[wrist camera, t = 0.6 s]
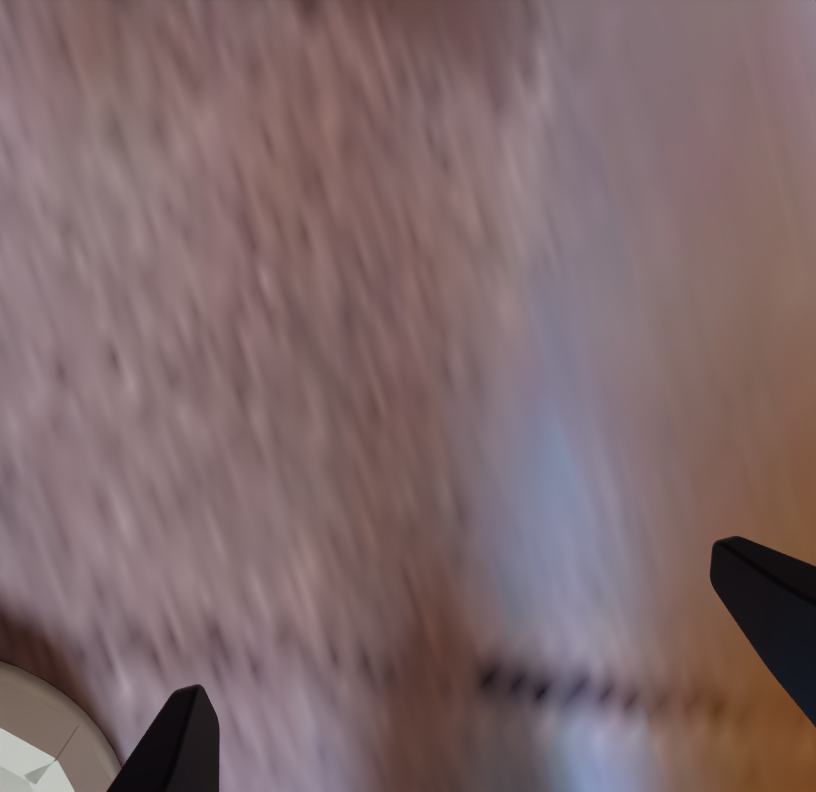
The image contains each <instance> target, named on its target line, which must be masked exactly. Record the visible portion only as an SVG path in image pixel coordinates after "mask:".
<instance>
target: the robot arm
mask: <svg viewBox="0 0 816 792" xmlns="http://www.w3.org/2000/svg"><path fill="white" fill-rule="evenodd" d="M710 580H711V583H712V586H713V588H714V590H715V591H716V593H717V594H718V596H719V597H720V599H721V600H722V602H723V603H724V605H725V606H726V608H727V609H728V611H729V612H730V614H731V615H732V617H733V618H734V620H735V621H736V623H737V624H738V625H739V627H740V628H741V630H742V631H743V633H744V634H745V636H746V637H747V639H748V640H749V642H750V643H751V645H752V646H753V648H754V649H755V651H756V652H757V654H758V655H759V657H760V658H761V659H762V661H763V662H764V663H765V665H766V666H767V668H768V669H769V670H770V672H771V673H772V674H773V675H774V677H775V678H776V679H777V680H778V682H779V683H780V684H781V685H782V687H783V688H784V689H785V690H786V692H787V693H788V694H789V695H790V696H791V698H792V699H793V700H794V701H795V703H796V704H797V705H798V706H799V707H800V709H801V710H802V711H803V712H804V714H805V715H806V716H807V717H808V718H809V720H810V721H811V722H812V723H813V725H814V726H815V727H816V566H814V565H811V564H809V563H806V562H804V561H801V560H798V559H796V558H793V557H791V556H788V555H786V554H783V553H781V552H778V551H776V550H773V549H771V548H768V547H766V546H763V545H760V544H758V543H755V542H753V541H750V540H748V539H745V538H743V537H739V536H732V537H728V538H724V539H721V540H717V541H716V542H715V543H714V544H713V546H712V555H711V566H710ZM219 742H220V730H219V722H218V717H217V715H216V712H215V710H214V708H213V706H212V704H211V702H210V700H209V698H208V696H207V693H206V691H205V689H204V688H203V686H201V685H199V684H196V685H192V686H188V687H185V688H181V689H178V690H176V691H174V692H173V693H172V694H171V696H170V697H169V699H168V700H167V702H166V703H165V705H164V706H163V708H162V709H161V711H160V712H159V713H158V715H157V716H156V718H155V719H154V721H153V722H152V724H151V725H150V727H149V728H148V730H147V731H146V733H145V734H144V736H143V737H142V739H141V740H140V742H139V743H138V745H137V746H136V748H135V749H134V751H133V752H132V754H131V755H130V757H129V758H128V760H127V761H126V763H125V764H124V766H123V767H122V769H121V770H120V772H119V773H118V775H117V776H116V778H115V779H114V781H113V782H112V784H111V785H110V786H109V788H108V789H107V791H106V792H219Z"/></svg>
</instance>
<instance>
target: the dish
mask: <svg viewBox="0 0 816 792" xmlns="http://www.w3.org/2000/svg"><path fill="white" fill-rule="evenodd" d="M121 769H122V768H121V766H120V764H119V761H118V759H117V757H116V755H115V752H114V750H113V749H112V747H111V746H110V744H109V742H108V741H107V739H106V738H105V736H104V735H103V733H102V731H101V730H100V729H99V728H98V727H97V725H96V724H95V723H94V722H93V721H92V720H91V718H90V717H89V716H88V715H87V714H86V713H85V711H83V710H82V709H81V708H80V707H79V706H78V705H77V704H75V703H74V702H73V701H72V700H71V699H70V698H69V697H68V696H66V695H65V694H64V693H62V692H61V691H59V690H58V689H56V688H55V687H53V686H52V685H50V684H49V683H47V682H46V681H44V680H43V679H41V678H39V677H37V676H35V675H33V674H31V673H29V672H27V671H25V670H23V669H21V668H19V667H16V666H13V665H10V664H7V663H5V662H2V661H0V792H106V791H107V789H108V788H109V786H110V785H111V784H112V782H113V781H114V779H115V778H116V776H117V775H118V773H119V772H120V770H121Z"/></svg>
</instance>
